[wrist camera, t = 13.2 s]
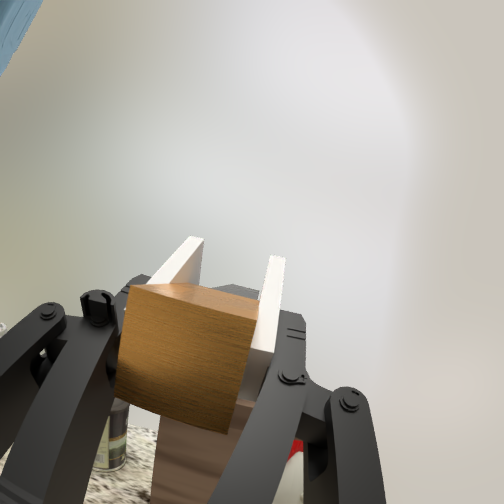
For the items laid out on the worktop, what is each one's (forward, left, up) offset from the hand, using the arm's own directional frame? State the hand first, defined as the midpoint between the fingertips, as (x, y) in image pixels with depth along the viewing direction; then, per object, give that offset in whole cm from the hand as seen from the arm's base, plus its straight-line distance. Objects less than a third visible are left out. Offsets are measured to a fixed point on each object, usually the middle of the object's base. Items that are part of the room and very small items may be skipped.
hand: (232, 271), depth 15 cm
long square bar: (-1, +4, -4) cm, 6 cm away
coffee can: (-25, +15, -39) cm, 49 cm away
